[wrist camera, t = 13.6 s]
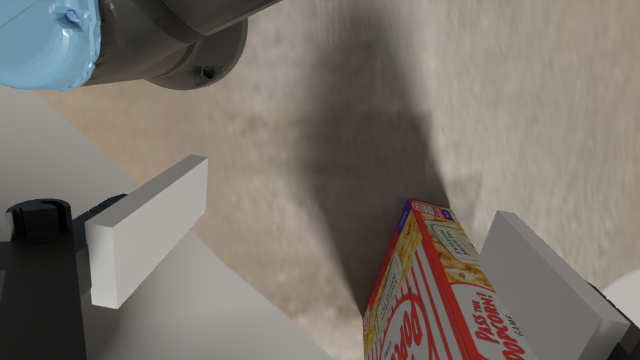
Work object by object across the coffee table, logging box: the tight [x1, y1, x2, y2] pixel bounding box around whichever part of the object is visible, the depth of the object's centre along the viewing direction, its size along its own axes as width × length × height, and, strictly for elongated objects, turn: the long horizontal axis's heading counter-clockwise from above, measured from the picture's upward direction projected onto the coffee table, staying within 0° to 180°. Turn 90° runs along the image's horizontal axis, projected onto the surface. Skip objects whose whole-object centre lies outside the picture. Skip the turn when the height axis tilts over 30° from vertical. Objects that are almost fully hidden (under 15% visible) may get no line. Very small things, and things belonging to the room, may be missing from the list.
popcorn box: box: [362, 199, 538, 360], centre depth 34 cm, size 20×6×27 cm, turn 166°
